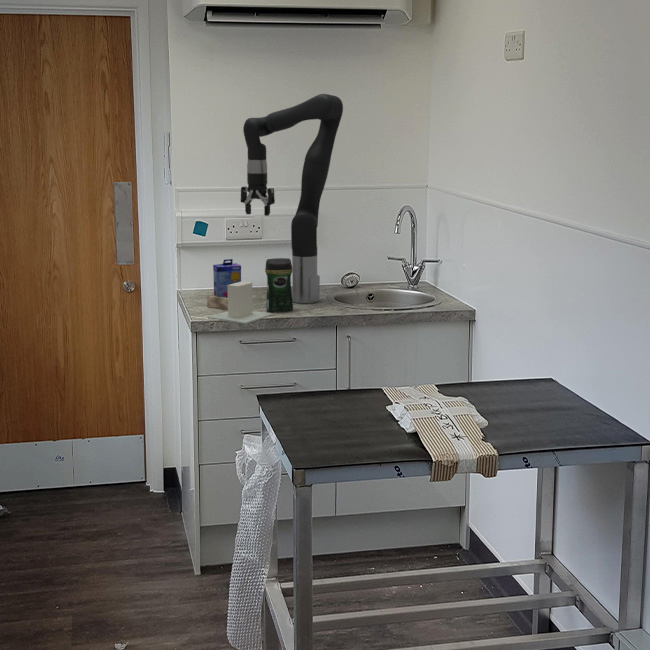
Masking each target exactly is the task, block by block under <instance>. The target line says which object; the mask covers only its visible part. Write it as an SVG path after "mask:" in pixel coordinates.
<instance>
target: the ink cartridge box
mask: <svg viewBox="0 0 650 650" xmlns="http://www.w3.org/2000/svg"><path fill="white" fill-rule="evenodd" d="M233 260H234V259H233V258H230V259H229V258H228V259H223V261H222V263H218V264H212V268H213V296H215V297H223V298H225V297H227V298H228V289H227V285H230V284H233V283H237V282H241V281H242V265H241V264H239V263H237V262H234V263H233Z"/></svg>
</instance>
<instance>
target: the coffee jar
mask: <svg viewBox="0 0 650 650" xmlns="http://www.w3.org/2000/svg"><path fill="white" fill-rule="evenodd" d="M264 270H265V271H264V272H265V274H266V278H267V279H266V282H267V283H266V286H267V287H266V296H265V297H266V299H265V301H266V302H265V310H266V311H267V312H271V313H273V312H274V313H282V312H283V311H284V312H290V311H292V310H294V302H293V291H292V280H291V277H292V260H291V259H290V258H287V257H285V258H283V257H282V258H281V257H280V258H279V257H277V258H267V259H266V261H265V267H264Z"/></svg>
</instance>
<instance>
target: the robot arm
mask: <svg viewBox="0 0 650 650" xmlns="http://www.w3.org/2000/svg"><path fill="white" fill-rule="evenodd" d="M343 112H344V104H343V101H342V99H341V98H340V97H339V96H336V95H332V94H328V93H319V94H318V95H315V96H313V97H311V98H309V99H307V100H305V101H303V102H301V103H299V104H297V105H296V104H295V105H294V106H291V107H287V108H284V109H280V110H276V111H273V112H271V113H269V114H267V115H266V116H262V117H249V118H247V119H246V120H245V121H244V124H243V127H242V129H243V130H242V132H243V136H244V140H245V144H246V148H247V164H246V170H247V171H246V172H247V173H246V176H247V177H246V178H247V179H246V180H247V182H246V184H247V186H241V188H240V203H243V204H244V205H245V206H244V207H245V209H244V210H245V213H246V215H251V214H252V204H251V203H252V202H253V200H255V199H257V200H260V201H261V202H262V203H263V204H264V206H263V209H264V210H263V211H264V213H263V214H264V217H267V216H270V214H271V206H272V205H273V204H275V203H276V201H275V188H274V187H269V188H268V186H267V185H268V161H267V147H266V145H265V144H264V143H262V142H261V137H266V136H269V135H272V134H274V133H276V132H281V131H284V130H288V129H290V128H292V127H295V126H296V125H297V124H299V123H302V122H304V121H305V122H306V121H311V120H320V124H319V129H318V133H317V135H316V136H315V138H314V140H313V141H312V143H311V145H310V146H309V148H308V150H307V152H306V154H305V157H304V160H303V162H304V163H303V166H302V172H301V185H300V186H301V188H300V198H299V202H298V204H297V205H298V206H297V208H296V212H295V214H294V217H293V218H292V220H291V225H290V230H291V231H290V232H291V255H292V256H291V257H292V258H291V259H292V260H291V264H292V273H291V277H292V280H291V291H292V299H293V303H297V304H313V303H317V302H319V301H321V300H320V298H321V297H320V296H321V295H320V292H321V291H320V288H321V287H320V285H321V284H320V275H318V240H317V239H318V238H317V236H318V234H317V233H318V230H317V229H318V224H319V213H320V212H319V211H320V203H321V202H320V201H321V200H322V199H321V198H322V194H323V192H324V190H325V186H326V183H327V179H328V175H329V170H330V165H331V160H332V155H333V154H332V153H333V151H334V150H333V149H334V145H335V140H336V136H337V133H338V129H339V126H340V123H341V120H342V116H343Z"/></svg>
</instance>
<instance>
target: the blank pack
mask: <svg viewBox="0 0 650 650" xmlns="http://www.w3.org/2000/svg"><path fill="white" fill-rule="evenodd" d="M227 289H228V297H227V298H228V310H227V311H228V317H233V318H241V317H244V316H248V315H251V314H253V311H254V310H253V305H254V304H253V300H254V299H253V282H249V281H242V280H241V282H237V283H233V284H230V285H227Z"/></svg>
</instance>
